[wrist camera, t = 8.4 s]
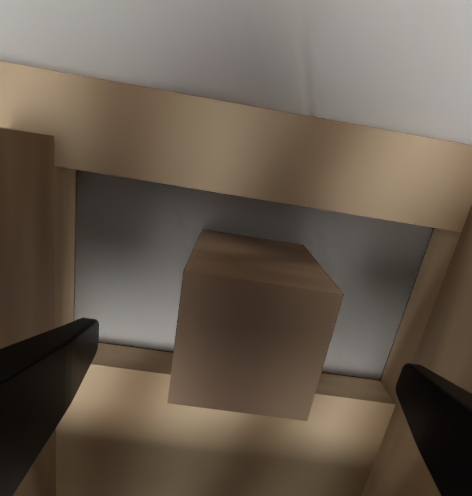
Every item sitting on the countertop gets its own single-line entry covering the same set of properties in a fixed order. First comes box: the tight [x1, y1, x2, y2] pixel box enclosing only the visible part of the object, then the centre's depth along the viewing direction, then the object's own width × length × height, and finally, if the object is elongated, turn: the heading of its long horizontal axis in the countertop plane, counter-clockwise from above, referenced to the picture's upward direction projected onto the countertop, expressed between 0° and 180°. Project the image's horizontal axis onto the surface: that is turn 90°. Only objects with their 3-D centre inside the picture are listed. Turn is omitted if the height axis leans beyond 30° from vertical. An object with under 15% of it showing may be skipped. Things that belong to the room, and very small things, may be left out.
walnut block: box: [167, 230, 344, 421], centre depth 11 cm, size 4×4×5 cm
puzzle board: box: [0, 61, 472, 496], centre depth 12 cm, size 28×23×6 cm
